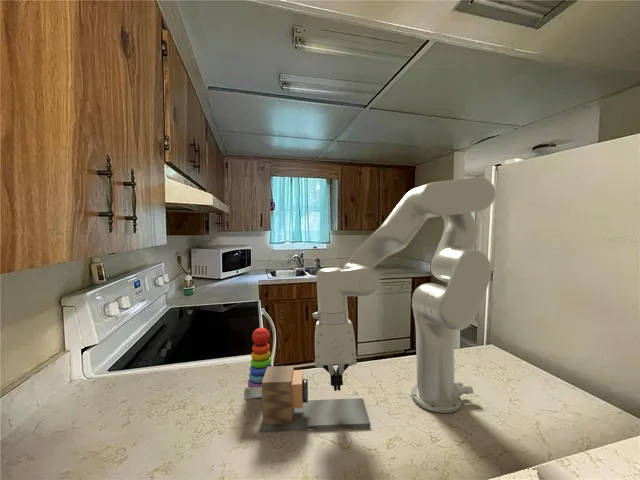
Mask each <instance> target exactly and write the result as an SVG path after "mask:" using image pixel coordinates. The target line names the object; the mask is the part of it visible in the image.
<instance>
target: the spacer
mask: <svg viewBox="0 0 640 480" xmlns="http://www.w3.org/2000/svg"><path fill="white" fill-rule="evenodd" d="M303 379H304V369H296V370H295V369H294V370H293V377H292V408H303V399H302V382H303Z"/></svg>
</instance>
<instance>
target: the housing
mask: <svg viewBox="0 0 640 480" xmlns="http://www.w3.org/2000/svg"><path fill="white" fill-rule="evenodd" d="M294 366H295V365H279V366H278V365H277V366H274V365H272V367H267V369H266V372H265V375H264V378H263V380H262V398H261V400H262V401H261V404H262V406H261V407H262V411H261V412H262V419H261V422H260V427H259V432H260V433H263V432H262V431H271V432H282V431H281V430H296V431H309V430H308V429H314V431H315V430H317V431H320V430H341V429H366V428H367V429H368V428H371V420H370V418H369V415H368V414H369V413H368V410H367V407H366V404H365V401H364V398H363V397H362V398H360V397H359V398H339V399H338V398H337V399H336V398H334V399H333V398H332V399H315V400H314V399H310V400H309V399H308V403H303V408H292V377H293V370H295V367H294Z"/></svg>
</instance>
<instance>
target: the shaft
mask: <svg viewBox="0 0 640 480" xmlns="http://www.w3.org/2000/svg"><path fill="white" fill-rule="evenodd" d="M243 398H244V399H262V387H249V388H248V387H245V388H244V392H243ZM302 399H303V403H308V400H309V382H308V378H307V379H306V378H303V382H302Z"/></svg>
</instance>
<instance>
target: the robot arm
mask: <svg viewBox="0 0 640 480" xmlns="http://www.w3.org/2000/svg"><path fill="white" fill-rule="evenodd" d="M495 198H496V189H495V186H494V184H493V183H492V182H491V181H490V180H489V179H487V178H485V177H480V176H473V177H466V178H458V179H450V180H439V181H433V182H429V183H426V184H422V185H419V186H417V187H413V188H412V189H410V190H409V191H408V192H406V193H405V195H403V197H402V198H401V199H400V201H398V203H397V204H396V206H395V207H394V208H393V209H392V211H391V213H390V214H389V215H388V216H387V218H386V219H385V220H384V221H383V223H382V224H381V225H380V226H379V227H378V228H377V229H376V230H375V231H374V232H373V233H372V234H371V235H370V236H369V237H368V238H367V239H365V241H363V243H361V244H360V245H359V246H358V247H357V249H356V250H355V251H354V252H353V253H352V254H351V255H350V257H349V259H348V260H347V261H346V263H345V264H344V265H343V267H335V266H334V267H322V268H320V269H319V270H317V272H316V291H317V292H316V293H317V294H316V295H317V311H316V312H313V313H312V319H316V320H317V321H316V324H315V331H314V356H315V359H314V366H315V367H316V368H321V369H322V368H323V369H324V370H325V371H326V372H327V373H328V374H329V376H330V386H332V387H333V391H334V392H337V391H338V392H341V386H343V385H344V383H343V381H344V380H343V375H344V372H345V371H346V370H347V369H348V368H349V367H351V366H355V365H357V363H358V362H357V349H356V338H355V331H354V326H353V323H352V321H351V320H350V319H349V310H348V297H360V298H361V297H363V298H365V297H369V296H372V295H374V294H375V293H377V292H378V291H379V288H380V284H381V280H380V277H379V274H378V273H377V272H376V270H375V267H376V266H377V265H378V264H379V263H380V262H381V261H383V260H384V259H386V258H387V257H390V256H392V255H393V254H395V253H398V252H400V251H402V250H404V249H405V248H406V247H407V246H408V245H409V244H410V242H411V241H412V240H413V239H414V237H415V236H416V235H417V233H418V232H419V231H420V229H421V228H422V226H423V225H424V224H425V223H426V221H427V220H428V219H429V218H436V217H437V218H438V217H442V219H443V225H444V229H443V231H442V232H443V233H442V235H441V238H440V241H439V242H438V246H437V248H436V250H435V252H434V256H433V257H432V260H431V263H430V272H431V274H432V275H433V276H434V277H435V279H438V280H440V281H442V282H444V283H447V286H446V285H445V286H444V285H442V284H437V283H433V282H427V283H423V284H420V285H419V286H417V287H416V288H415V290H414V291H413V293H412V297H411V306H412V311H413V318H414V323H415V325H414V326H415V349H416V350H415V351H416V354H415V355H416V384H415V385H414V386H413V387H412V388H411V392H410V393H411V398H412V400H413V401H414V402H415V403H416V405H418V406H419V407H421V408H423V409H425V410H427V411H431V412H434V413H438V414H439V413H441V414H448V413H454V412H457V411H458V410H460V409H461V407H462V399H461V396H462V395H473V394H474V389H473V387H472V386H471V385H464V384H463V382H462V381H461V382H455V348H454V347H455V346H454V345H455V344H454V343H455V340H454V339H455V338H454V331H461V330H465V329H466V328H468V327H469V326H470V325H471V324H472V323H473V322H474V321H475V318H476V316H477V314H478V312H479V309H480V306H481V304H482V301H483V299H484V296H485V294H486V292H487V288H488V286H489V285H490V284H489V283H490V281H491V277H492V264H491V262H490V259H489V258H488V257H487V255H486V254H485V253H483V252H482V251H480V250H478V249H474V248H475V245H476V242H477V238H478V236H479V233H478V231H479V229H478V226H477V222H476V220H475V218H474V216H473V214H472V213H476V212H482V211H485V210H486V209H488V208H490V207H491V205H492V204H493V203H494V201H495ZM334 366H337V368H335V367H334ZM335 369H336V370H335Z"/></svg>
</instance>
